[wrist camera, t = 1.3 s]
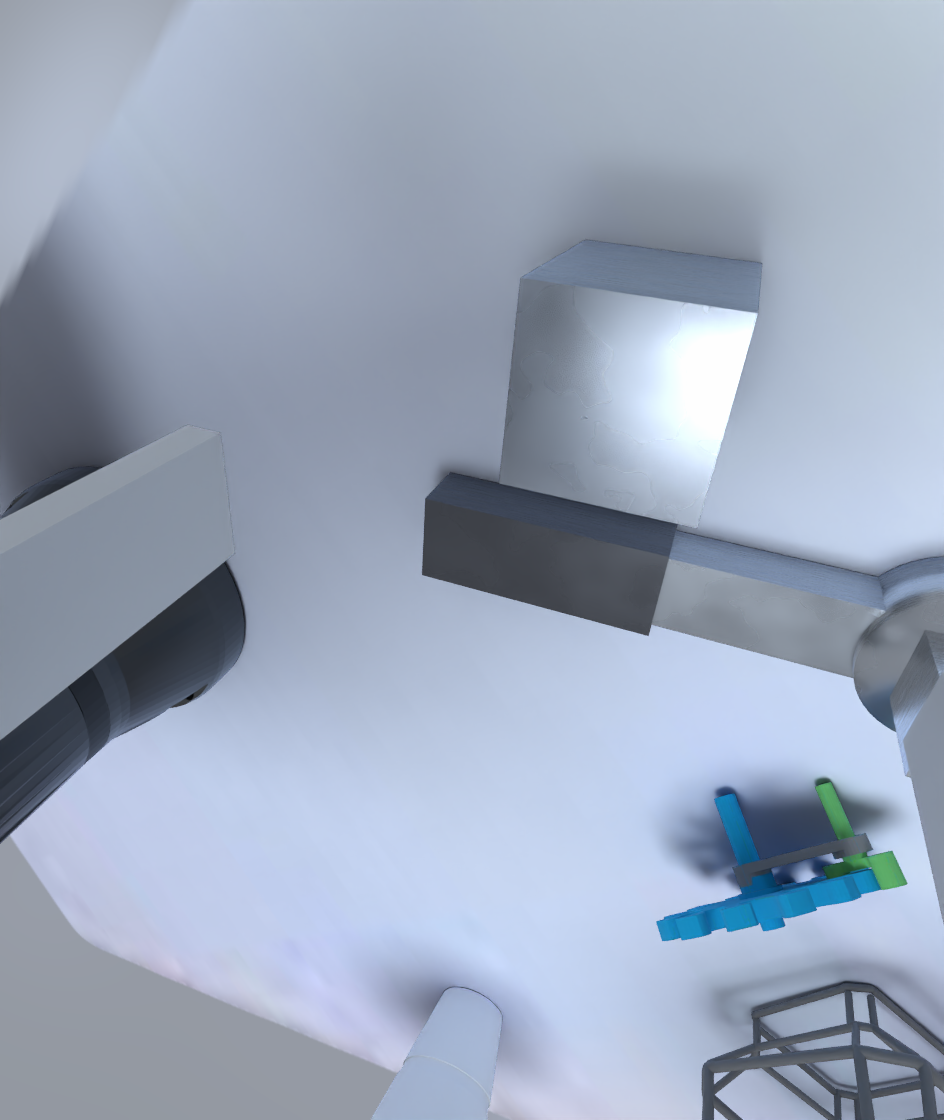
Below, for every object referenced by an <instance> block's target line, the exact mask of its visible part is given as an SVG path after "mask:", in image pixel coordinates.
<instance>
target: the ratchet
mask: <svg viewBox="0 0 944 1120" xmlns="http://www.w3.org/2000/svg"><path fill="white" fill-rule="evenodd" d="M676 528H677V524H675V523H670V522H666V521H661V520H657V519H653V518H648V517H644V516H639V515H635V514H631V513H626V512H622V511H618V510H613V509H609V508H604V507H600V506H596V505H591V504H587V503H582V502H578V501H574V500H569V499H565V498H561V497H556V496H552V495H547V494H543V493H539V492H534V491H530V490H525V489H521V488H517V487H512V486H508V485H504V484H499V483H495V482H490V481H486V480H482V479H477V478H473V477H468V476H464V475H460V474H455V473H451V472H450V473H449V474H448V475H447V476H446V477H445V478H444V479H443V481H442V482H441V483H440V484H439V485H438V486H437V487H436V488H435V489H434V490H433V491H432V492H431V493H430V494H429V495H428V496H427V497H426V499H425V520H424V543H423V566H422V575H425V576H428V577H432V578H436V579H439V580H443V581H447V582H451V583H454V584H458V585H462V586H465V587H469V588H473V589H476V590H480V591H484V592H488V593H491V594H495V595H499V596H502V597H506V598H510V599H514V600H517V601H521V602H525V603H528V604H532V605H536V606H540V607H543V608H547V609H551V610H554V611H558V612H562V613H566V614H569V615H573V616H577V617H580V618H584V619H588V620H591V621H595V622H599V623H603V624H606V625H610V626H614V627H617V628H621V629H625V630H629V631H632V632H636V633H640V634H643V635H647V636H649V632H650V628H651V625H655V626H659V627H663V628H666V629H670V630H674V631H678V632H681V633H685V634H689V635H693V636H697V637H700V638H704V639H708V640H712V641H715V642H719V643H723V644H727V645H730V646H734V647H738V648H742V649H745V650H749V651H753V652H757V653H761V654H764V655H768V656H772V657H776V658H779V659H783V660H787V661H791V662H794V663H798V664H802V665H806V666H810V667H813V668H817V669H821V670H825V671H828V672H832V673H836V674H840V675H843V676H847V677H851V678H854V683H855V688H856V691H857V694H858V696H859V698H860V700H861V702H862V703H863V705H864V706H865V708H866V709H867V710H868V711H869V713H870V714H871V715H873V716H874V717H875V718H876V719H877V720H878V721H879V722H881V723H882V724H883V725H885V726H886V727H888V728H890V729H891V730H893V731H895V732H896V733H897V738H898V742H899V747H900V752H901V757H902V762H903V767H904V772H905V776H907V777H910V778H911V775H910V770H909V766H908V761H907V757H906V752H905V748H904V743H903V740H904V738H905V736H906V735H907V733H908V731H909V730H910V728H911V726H912V724H913V723H914V721H915V719H916V717H917V716H918V714H919V712H920V710H921V709H922V707H923V705H924V703H925V702H926V700H927V698H928V697H929V695H930V693H931V691H932V690H933V688H934V686H935V684H936V683H937V681H938V679H939V677H940V676H941V674H942V672H943V671H944V557H935V558H928V559H922V560H918V561H913V562H910V563H907V564H904V565H901V566H899V567H896V568H894V569H892V570H890V571H888V572H886V573H885V574H883V575H881V576H880V577H876V576H871V575H867V574H863V573H858V572H854V571H850V570H845V569H841V568H837V567H832V566H828V565H824V564H819V563H815V562H811V561H806V560H802V559H798V558H793V557H789V556H784V555H780V554H776V553H771V552H767V551H763V550H758V549H754V548H750V547H745V546H741V545H737V544H732V543H728V542H724V541H719V540H715V539H711V538H706V537H702V536H698V535H693V534H689V533H685V532H680V531H676Z"/></svg>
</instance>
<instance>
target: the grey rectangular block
mask: <svg viewBox="0 0 944 1120" xmlns="http://www.w3.org/2000/svg"><path fill="white" fill-rule="evenodd" d="M761 273H762V263H756V262H749V261H741V260H734V259H726V258H719V257H711V256H704V255H696V254H689V253H681V252H674V251H666V250H659V249H651V248H643V247H636V246H628V245H621V244H613V243H606V242H598V241H591V240H584V241H582V242H581V243H579V244H577V245H576V246H574V247H572V248H570V249H569V250H567V251H565V252H564V253H562V254H560V255H558V256H557V257H555V258H553V259H552V260H550V261H548V262H546V263H545V264H543V265H541V266H540V267H538V268H536V269H534V270H533V271H531V272H529V273H528V274H526V275H524V276H523V277H521V278H520V286H519V296H518V305H517V315H516V324H515V334H514V344H513V353H512V363H511V372H510V382H509V391H508V401H507V410H506V420H505V430H504V439H503V449H502V458H501V468H500V477H499V483H500V484H504V485H509V486H513V487H517V488H522V489H526V490H531V491H535V492H539V493H544V494H548V495H553V496H557V497H561V498H566V499H570V500H575V501H579V502H583V503H588V504H592V505H596V506H601V507H605V508H610V509H614V510H618V511H623V512H627V513H632V514H636V515H640V516H645V517H649V518H654V519H658V520H662V521H667V522H671V523H675V524H680V525H684V526H689V527H693V528H698V524H699V521H700V517H701V514H702V510H703V507H704V503H705V499H706V496H707V492H708V489H709V485H710V482H711V478H712V475H713V471H714V468H715V464H716V460H717V457H718V453H719V450H720V446H721V443H722V439H723V436H724V432H725V429H726V425H727V422H728V418H729V414H730V411H731V407H732V404H733V400H734V397H735V393H736V390H737V386H738V383H739V379H740V376H741V372H742V368H743V365H744V361H745V358H746V354H747V351H748V347H749V344H750V340H751V337H752V333H753V329H754V326H755V322H756V319H757V315H758V308H759V296H760V285H761Z"/></svg>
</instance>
